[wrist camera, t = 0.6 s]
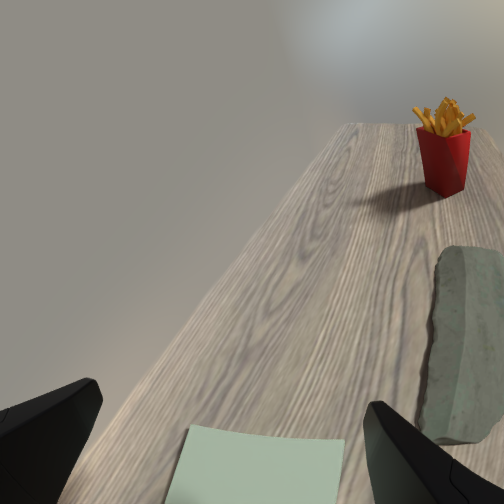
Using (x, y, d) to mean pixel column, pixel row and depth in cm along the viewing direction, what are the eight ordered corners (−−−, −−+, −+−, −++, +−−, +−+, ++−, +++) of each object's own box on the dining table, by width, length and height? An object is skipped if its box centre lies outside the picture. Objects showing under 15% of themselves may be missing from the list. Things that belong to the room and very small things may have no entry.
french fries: (417, 185, 40) (409, 95, 32) (448, 172, 40) (443, 89, 32) (455, 209, 33) (454, 105, 24) (484, 193, 33) (486, 100, 24)
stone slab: (502, 267, 25) (434, 252, 29) (509, 250, 23) (439, 234, 28) (499, 454, 11) (401, 443, 16) (516, 447, 10) (411, 437, 14)
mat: (323, 555, 10) (322, 557, 10) (165, 519, 15) (159, 519, 14) (344, 442, 18) (344, 439, 17) (196, 427, 22) (191, 424, 22)
